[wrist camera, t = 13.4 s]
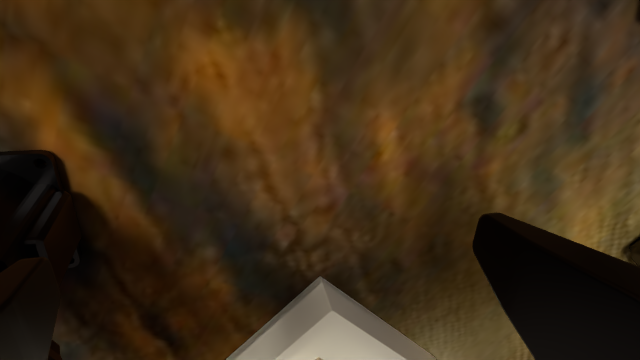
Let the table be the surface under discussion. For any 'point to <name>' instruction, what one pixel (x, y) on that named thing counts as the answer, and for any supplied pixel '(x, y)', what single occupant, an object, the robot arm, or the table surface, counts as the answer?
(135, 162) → the table surface
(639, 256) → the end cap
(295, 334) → the white square tray
